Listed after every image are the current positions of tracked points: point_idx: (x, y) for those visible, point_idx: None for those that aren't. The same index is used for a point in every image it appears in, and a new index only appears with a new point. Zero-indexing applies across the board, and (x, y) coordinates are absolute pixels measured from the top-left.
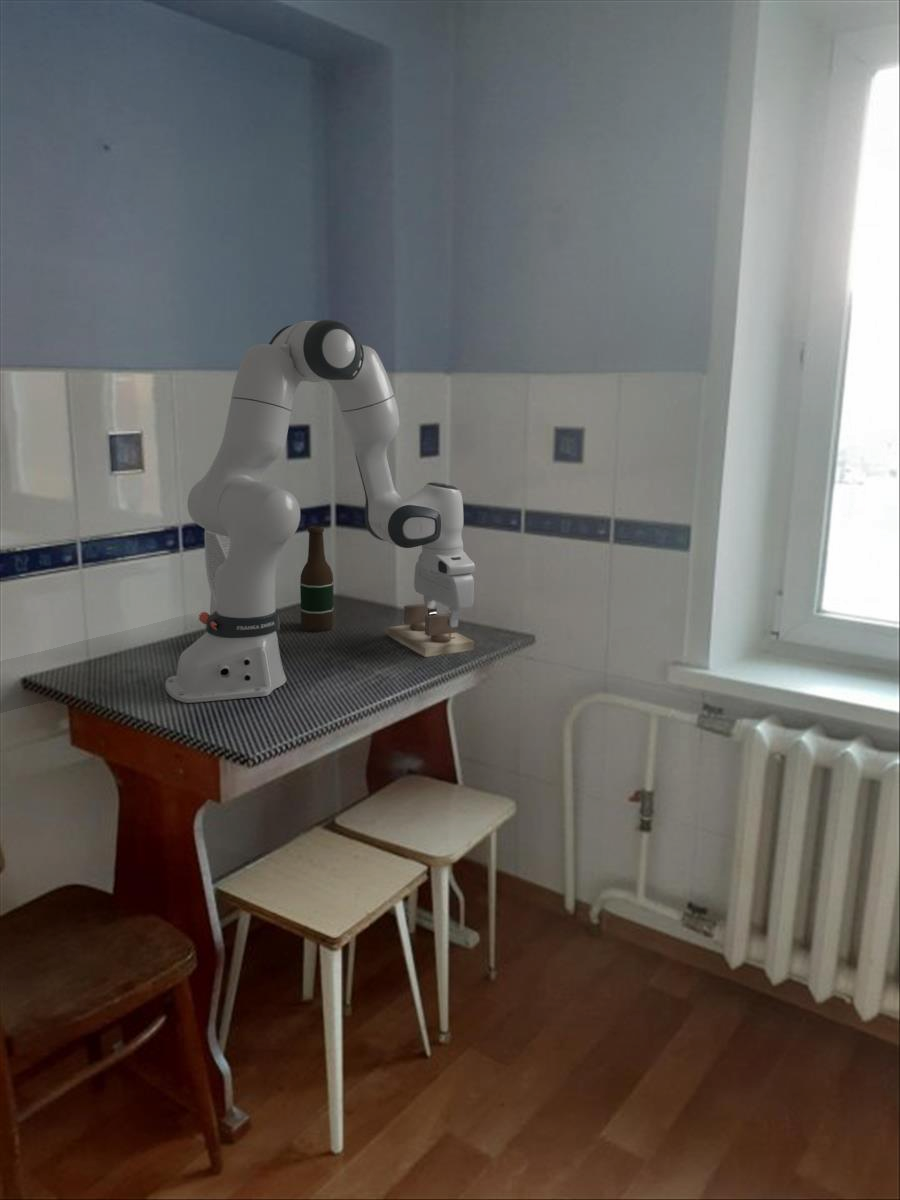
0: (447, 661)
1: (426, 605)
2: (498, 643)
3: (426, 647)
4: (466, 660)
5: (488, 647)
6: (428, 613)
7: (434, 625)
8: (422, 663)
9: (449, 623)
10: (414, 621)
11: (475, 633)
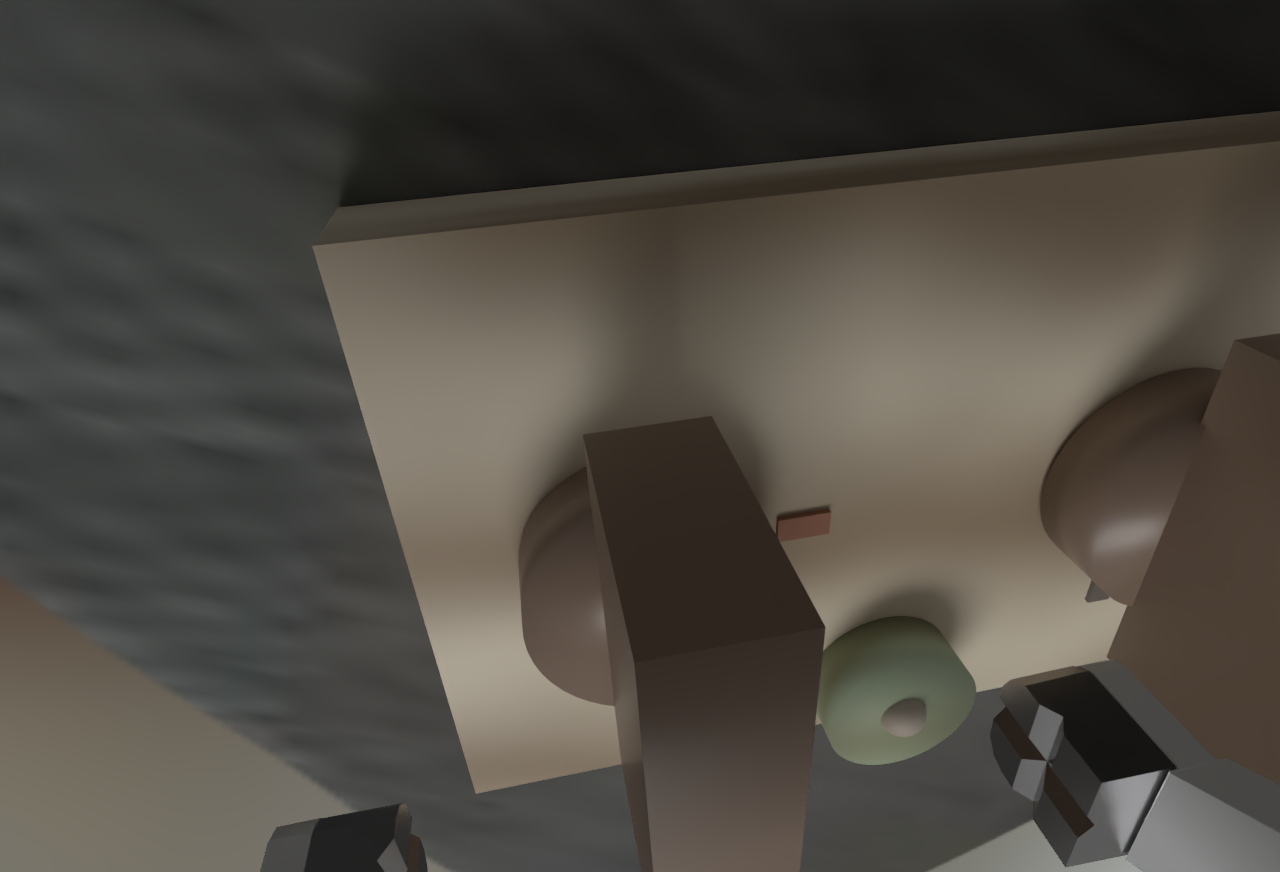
0: (106, 413)
1: (1249, 803)
2: (586, 867)
3: (346, 278)
4: (132, 598)
5: (513, 808)
6: (1077, 699)
7: (617, 626)
8: (15, 45)
9: (310, 865)
10: (1228, 453)
11: (878, 794)
